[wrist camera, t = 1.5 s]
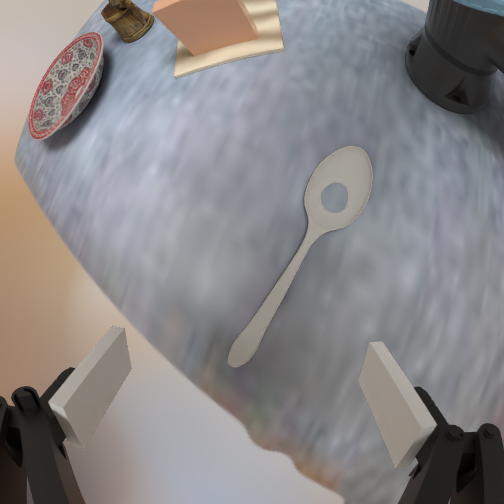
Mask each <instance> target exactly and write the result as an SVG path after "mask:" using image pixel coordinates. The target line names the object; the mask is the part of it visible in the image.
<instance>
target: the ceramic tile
mask: <svg viewBox="0 0 504 504" xmlns="http://www.w3.org/2000/svg"><path fill="white" fill-rule="evenodd" d="M152 13H153V14H154V15H155V16H156V17H157V18H158V19H159V20H160V21H161V22H162V23H163V24H164V25H165V26H166V27H167V28H168V29H169V30H170V31H171V32H172V33H173V34H174V35H175V36H176V37H177V38H178V39H179V40H180V41H181V42H182V43H183V44H184V45H185V47H186V48H187V49H188V50H189V51H190V52H191V53H192V54H193V55H194V56H196V55H199V54H202V53H206V52H209V51H212V50H216V49H219V48H222V47H226V46H230V45H234V44H238V43H242V42H246V41H250V40H254V39H258V31H257V27H256V25H255V23H254V21H253V19H252V17H251V15H250V13H249V12H248V10H247V8H246V6H245V4H244V3H243V1H242V0H159V1H157V2H155V4H154V7H153V11H152Z"/></svg>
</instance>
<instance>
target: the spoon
mask: <svg viewBox="0 0 504 504" xmlns="http://www.w3.org/2000/svg"><path fill="white" fill-rule="evenodd" d="M372 179H373V175H372V165H371V161H370V159H369V156H368V155H367V153H366V152H365V151H364V150H363V149H361V148H360V147H357V146H347V147H343V148H341V149H338V150H337V151H335V152H333V153H332V154H330V155H329V156H327V157H326V158H325V159H324V160H323V161H322V162H321V163H320V164H319V165H318V166H317V168H316V169H315V171H314V172H313V174H312V176H311V178H310V180H309V182H308V185H307V188H306V192H305V197H304V204H305V209H306V212H307V216H308V222H309V224H308V230H307V234H306V236H305V239H304V241H303V243H302V245H301V246H300V248H299V250H298V252H297V253H296V255H295V256H294V258H293V259H292V261H291V263H290V264H289V266H288V267H287V269H286V270H285V272H284V273H283V275H282V276H281V278H280V279H279V280H278V282H277V283H276V285H275V286H274V288H273V289H272V291H271V292H270V294H269V295H268V297H267V298H266V300H265V301H264V303H263V304H262V306H261V307H260V309H259V310H258V311H257V313H256V314H255V316H254V317H253V319H252V320H251V321H250V323H249V324H248V325H247V326H246V328H245V329H244V330H243V331H242V332H241V333H240V334H239V336H238V337H237V338H236V340H235V341H234V343H233V345H232V347H231V349H230V352H229V355H228V364H229V365H230V366H231V367H233V368H238V367H240V366H242V365H244V364H245V363H247V362H248V361H249V360H250V359H251V358H252V357H253V355H254V354H255V352H256V350H257V349H258V347H259V344H260V342H261V340H262V338H263V336H264V334H265V331H266V330H267V328H268V326H269V324H270V322H271V320H272V318H273V316H274V314H275V313H276V311H277V309H278V307H279V305H280V303H281V301H282V300H283V298H284V296H285V294H286V292H287V290H288V288H289V286H290V284H291V282H292V281H293V279H294V277H295V275H296V273H297V271H298V269H299V267H300V265H301V263H302V261H303V259H304V257H305V255H306V254H307V252H308V250H309V248H310V247H311V245H312V244H313V243H314V242H315V240H316V239H317V238H319V237H320V236H321V235H323V234H324V233H326V232H329V231H333V230H338V229H342V228H344V227H346V226H348V225H350V224H351V223H352V222H353V221H354V220H355V219H356V218H357V217H358V216H359V215H360V213H361V212H362V210H363V209H364V207H365V205H366V204H367V201H368V199H369V196H370V193H371V189H372ZM336 182H337V183H341V184H343V185H344V186H345V187H346V189H347V191H348V202H347V205H346V207H345V209H344V210H343V211H341V212H339V213H331V212H329V211H327V210H326V209H325V208H324V207H323V205H322V203H321V199H320V197H321V193H322V191H323V190H324V188H325V187H327V186H328V185H330V184H332V183H336Z"/></svg>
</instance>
